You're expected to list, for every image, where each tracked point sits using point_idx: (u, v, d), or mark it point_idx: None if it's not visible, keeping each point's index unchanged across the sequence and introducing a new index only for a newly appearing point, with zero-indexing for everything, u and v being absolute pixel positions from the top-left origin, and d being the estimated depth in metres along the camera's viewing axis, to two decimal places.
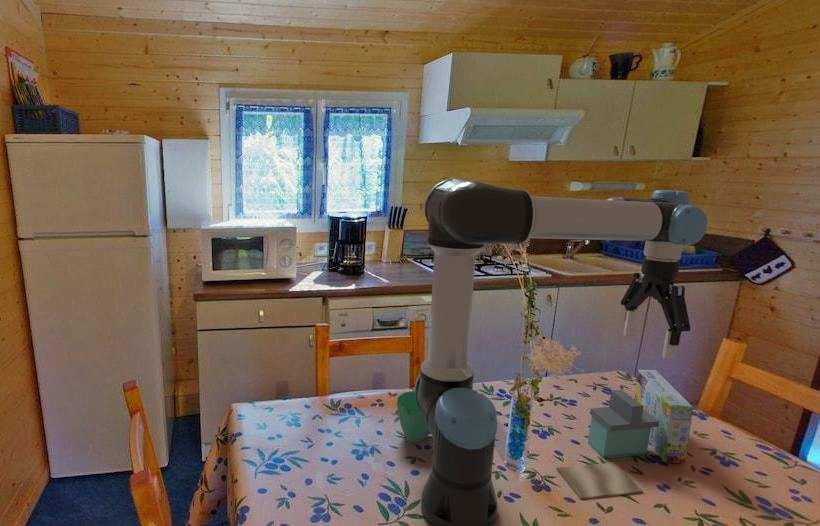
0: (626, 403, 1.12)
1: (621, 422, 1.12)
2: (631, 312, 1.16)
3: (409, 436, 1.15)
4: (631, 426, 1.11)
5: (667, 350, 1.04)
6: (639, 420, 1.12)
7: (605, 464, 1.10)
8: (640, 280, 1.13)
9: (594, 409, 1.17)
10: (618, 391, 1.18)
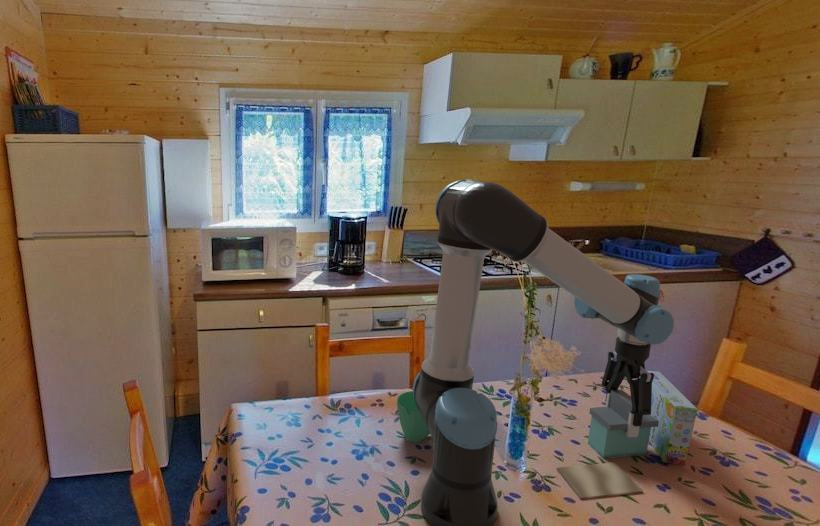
0: (625, 403, 1.13)
1: (620, 421, 1.12)
2: None
3: (409, 436, 1.15)
4: None
5: (631, 430, 1.11)
6: None
7: (605, 464, 1.10)
8: (615, 359, 1.17)
9: (594, 408, 1.17)
10: (618, 391, 1.18)
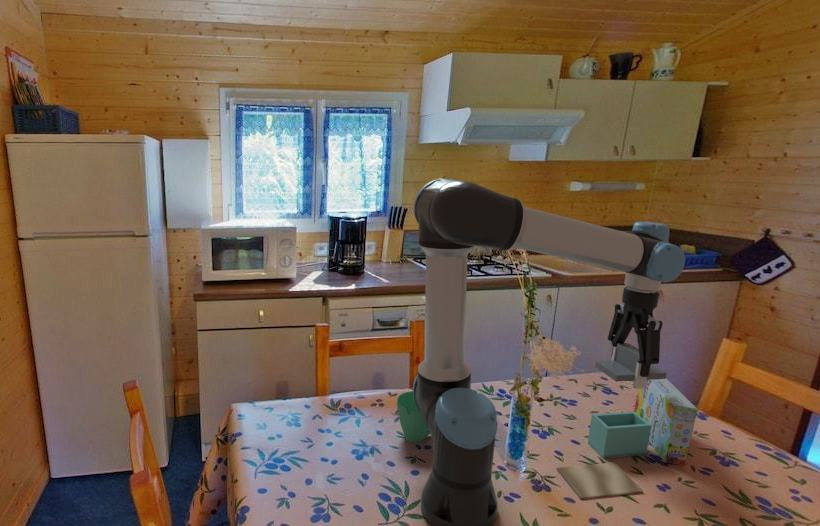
0: (633, 354, 1.10)
1: (627, 372, 1.10)
2: None
3: (409, 436, 1.15)
4: None
5: (638, 381, 1.08)
6: None
7: (605, 464, 1.10)
8: (622, 311, 1.15)
9: (600, 362, 1.15)
10: (624, 344, 1.15)
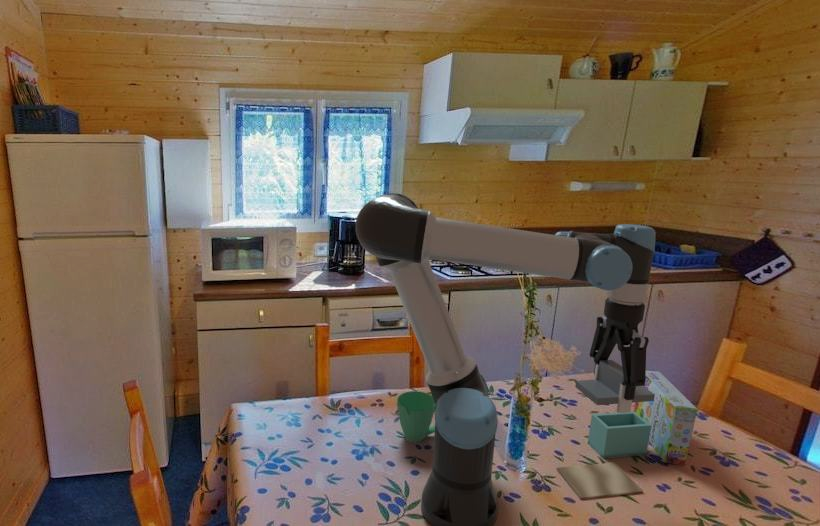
0: (616, 373, 0.97)
1: (610, 394, 0.97)
2: None
3: (409, 436, 1.15)
4: None
5: (622, 404, 0.96)
6: None
7: (605, 464, 1.10)
8: (604, 324, 1.02)
9: (580, 381, 1.02)
10: (608, 361, 1.03)
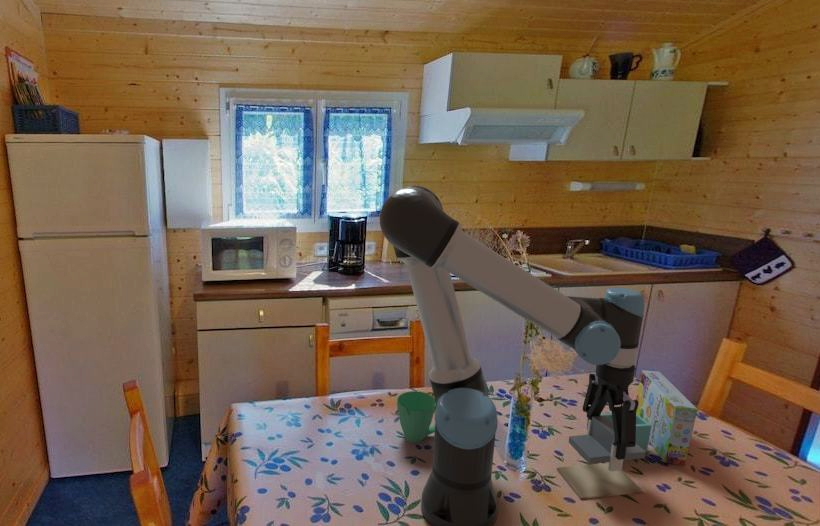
0: (608, 432, 1.00)
1: (602, 453, 1.00)
2: None
3: (409, 436, 1.15)
4: None
5: (613, 463, 0.99)
6: None
7: (605, 464, 1.10)
8: (596, 381, 1.05)
9: (573, 437, 1.05)
10: (600, 417, 1.05)
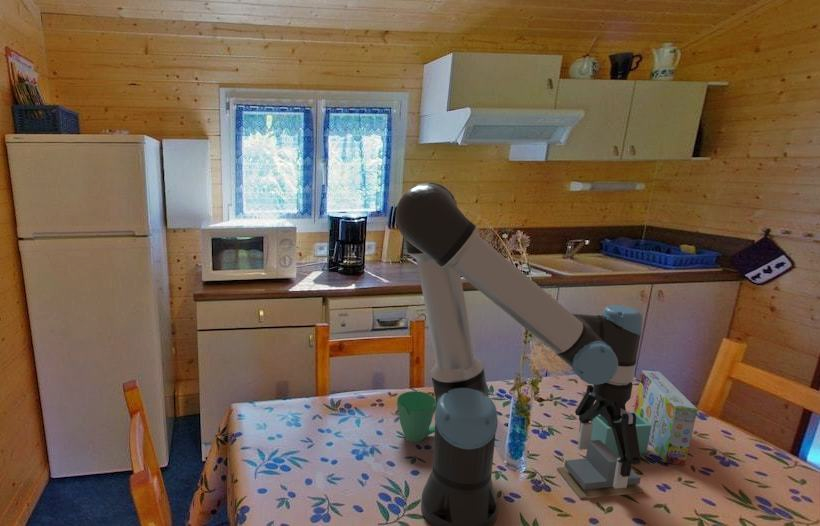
0: (603, 458, 1.02)
1: (597, 478, 1.01)
2: (585, 425, 1.09)
3: (409, 436, 1.15)
4: (608, 483, 1.01)
5: (618, 480, 0.97)
6: None
7: None
8: (593, 394, 1.06)
9: (569, 461, 1.06)
10: (596, 442, 1.07)
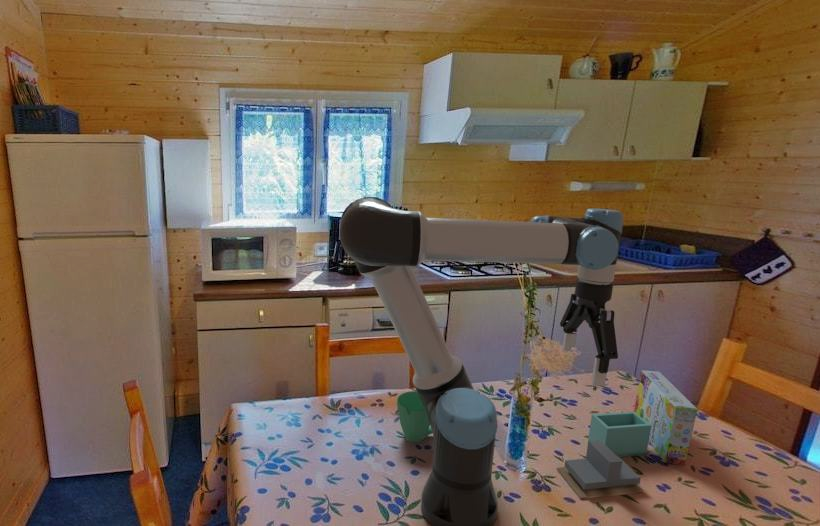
0: (603, 458, 1.02)
1: (597, 478, 1.01)
2: (568, 335, 1.11)
3: (409, 436, 1.15)
4: (608, 483, 1.01)
5: (596, 377, 0.99)
6: (617, 477, 1.01)
7: None
8: (577, 302, 1.08)
9: (569, 461, 1.06)
10: (596, 442, 1.07)
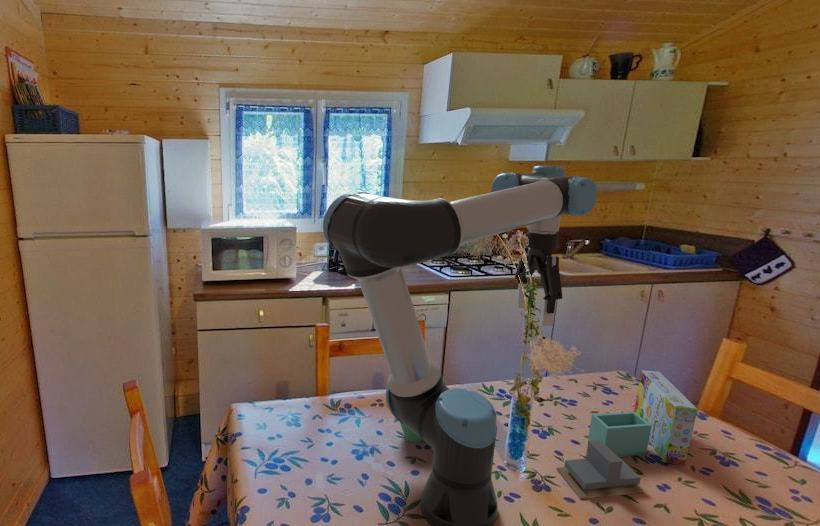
0: (603, 458, 1.02)
1: (597, 478, 1.01)
2: None
3: (409, 436, 1.15)
4: (608, 483, 1.01)
5: (545, 318, 1.09)
6: (617, 477, 1.01)
7: None
8: (528, 253, 1.18)
9: (569, 461, 1.06)
10: (596, 442, 1.07)
